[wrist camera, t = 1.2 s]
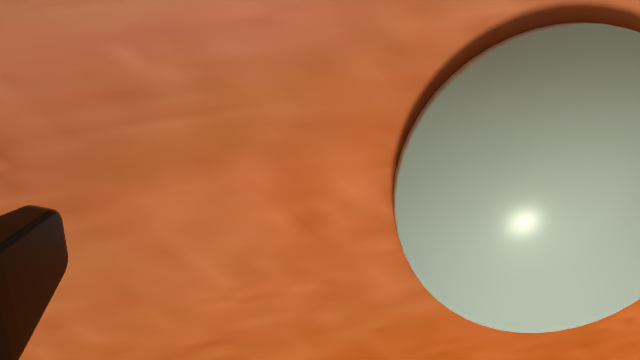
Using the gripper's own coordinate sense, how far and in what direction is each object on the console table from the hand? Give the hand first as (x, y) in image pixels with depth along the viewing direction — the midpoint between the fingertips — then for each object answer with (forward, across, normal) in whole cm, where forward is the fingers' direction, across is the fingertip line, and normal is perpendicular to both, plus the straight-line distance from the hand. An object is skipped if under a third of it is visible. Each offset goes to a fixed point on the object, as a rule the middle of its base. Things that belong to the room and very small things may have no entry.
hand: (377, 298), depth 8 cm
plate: (+16, -6, +7) cm, 19 cm away
